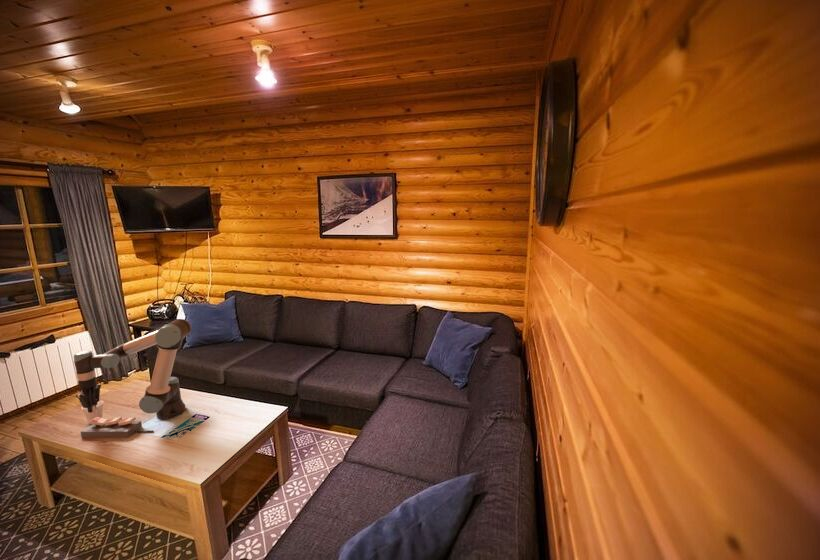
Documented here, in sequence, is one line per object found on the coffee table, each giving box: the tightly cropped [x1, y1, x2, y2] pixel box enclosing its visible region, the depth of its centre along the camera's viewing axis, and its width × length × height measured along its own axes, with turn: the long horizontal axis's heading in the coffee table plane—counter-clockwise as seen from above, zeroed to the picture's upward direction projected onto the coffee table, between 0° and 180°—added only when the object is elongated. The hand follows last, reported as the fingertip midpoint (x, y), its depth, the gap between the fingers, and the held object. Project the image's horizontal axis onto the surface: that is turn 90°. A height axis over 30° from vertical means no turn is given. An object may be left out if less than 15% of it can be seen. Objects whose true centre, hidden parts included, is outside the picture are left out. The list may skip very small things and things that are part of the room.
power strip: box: [80, 420, 155, 439], centre depth 191 cm, size 36×10×5 cm, turn 90°
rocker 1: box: [89, 417, 110, 426], centre depth 192 cm, size 7×4×2 cm, turn 90°
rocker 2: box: [104, 416, 123, 426], centre depth 192 cm, size 7×4×2 cm, turn 90°
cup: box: [80, 399, 104, 424], centre depth 202 cm, size 10×10×11 cm
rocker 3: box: [118, 416, 137, 426], centre depth 192 cm, size 7×4×2 cm, turn 90°
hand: (93, 416), depth 192 cm, fingers closed
